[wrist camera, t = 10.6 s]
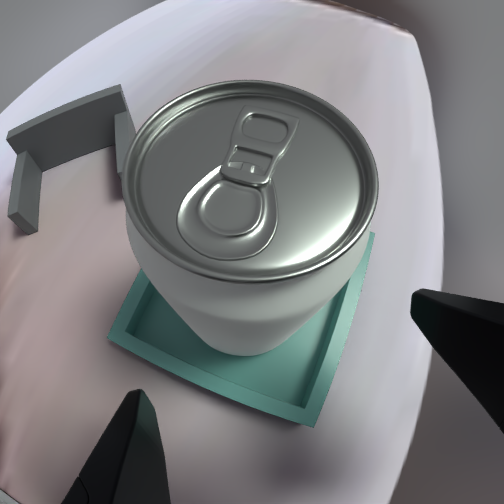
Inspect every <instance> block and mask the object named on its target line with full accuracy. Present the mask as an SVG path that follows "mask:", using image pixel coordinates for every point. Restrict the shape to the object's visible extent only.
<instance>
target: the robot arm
mask: <svg viewBox="0 0 504 504" xmlns="http://www.w3.org/2000/svg"><path fill="white" fill-rule="evenodd" d="M410 314H411V317H412V319H413V321H414V322H415V323H416V325H417V326H418V327H419V329H420V330H421V332H422V333H423V334H424V336H425V337H426V338H427V340H428V341H429V343H430V344H431V345H432V347H433V348H434V349H435V351H436V352H437V353H438V354H439V355H440V356H441V358H442V359H443V360H444V361H445V362H446V363H447V364H448V366H449V367H450V368H451V369H452V370H453V371H454V373H455V374H456V375H457V376H458V377H459V378H460V380H461V381H462V382H463V383H464V384H465V385H466V387H467V388H468V389H469V390H470V392H471V393H472V394H473V395H474V396H475V398H476V399H477V400H478V402H479V403H480V404H481V405H482V406H483V408H484V409H485V410H486V412H487V413H488V414H489V415H490V417H491V418H492V419H493V420H494V422H495V423H496V424H497V426H498V427H500V430H501V431H502V432H503V434H504V303H499V302H493V301H487V300H482V299H477V298H471V297H466V296H461V295H456V294H450V293H445V292H439V291H434V290H429V289H419V290H417V291H415V292H414V293H413V294H412V298H411V310H410ZM61 504H171V502H170V495H169V487H168V480H167V471H166V463H165V455H164V450H163V446H162V441H161V436H160V432H159V427H158V422H157V417H156V412H155V409H154V407H153V405H152V403H151V402H150V400H149V399H148V397H147V396H146V394H145V392H144V391H143V390H142V389H137V390H132V391H129V392H128V393H127V395H126V396H125V398H124V400H123V401H122V403H121V405H120V406H119V408H118V410H117V411H116V413H115V414H114V416H113V418H112V419H111V421H110V423H109V424H108V426H107V428H106V429H105V431H104V433H103V434H102V436H101V438H100V439H99V441H98V443H97V444H96V446H95V448H94V449H93V451H92V453H91V454H90V456H89V458H88V460H87V461H86V463H85V465H84V466H83V468H82V470H81V472H80V473H79V477H77V478H76V480H75V482H74V483H73V485H72V487H71V488H70V490H69V492H68V493H67V495H66V497H65V498H64V500H63V501H62V503H61Z"/></svg>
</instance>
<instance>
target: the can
mask: <svg viewBox="0 0 504 504" xmlns="http://www.w3.org/2000/svg"><path fill="white" fill-rule="evenodd" d="M378 190H379V181H378V172H377V167H376V163H375V160H374V157H373V154H372V152H371V150H370V148H369V146H368V144H367V142H366V140H365V139H364V137H363V136H362V134H361V133H360V131H359V130H358V129H357V128H356V126H355V125H354V124H353V123H352V122H351V121H350V120H349V119H348V118H347V117H346V116H345V115H344V114H343V113H341V112H340V111H339V110H338V109H336V108H335V107H334V106H332V105H331V104H329V103H328V102H326V101H324V100H323V99H321V98H319V97H317V96H315V95H313V94H311V93H309V92H306V91H304V90H301V89H299V88H296V87H292V86H289V85H285V84H281V83H276V82H270V81H261V80H233V81H225V82H219V83H214V84H210V85H206V86H203V87H199V88H197V89H194V90H191V91H189V92H187V93H184V94H182V95H180V96H178V97H176V98H175V99H173V100H171V101H170V102H168V103H167V104H165V105H164V106H162V107H161V108H160V109H158V110H157V111H156V112H155V113H154V114H153V115H152V116H151V117H150V118H149V119H148V120H147V121H146V122H145V123H144V124H143V125H142V126H141V128H140V129H139V130H138V132H137V133H136V135H135V137H134V138H133V140H132V142H131V144H130V146H129V148H128V150H127V153H126V156H125V160H124V164H123V169H122V193H123V199H124V203H125V206H126V226H127V233H128V237H129V241H130V244H131V247H132V250H133V252H134V254H135V257H136V259H137V261H138V263H139V265H140V267H141V268H142V270H143V271H144V273H145V274H146V276H147V277H148V279H149V280H150V281H151V283H152V284H153V285H154V287H155V288H156V289H157V290H158V292H159V293H160V294H161V295H162V296H163V298H164V299H165V300H166V301H167V302H168V303H169V305H170V306H171V307H172V308H173V309H174V310H175V311H176V312H177V314H178V315H179V316H180V317H181V318H182V319H183V320H184V321H185V322H186V323H187V325H188V326H189V327H190V328H191V329H192V330H193V331H194V332H195V333H196V334H197V335H198V336H199V337H200V338H201V339H202V340H203V341H204V342H205V343H206V344H208V345H209V346H210V347H212V348H214V349H216V350H218V351H220V352H223V353H226V354H231V355H237V356H254V355H259V354H262V353H265V352H268V351H270V350H272V349H274V348H276V347H277V346H279V345H280V344H282V343H283V342H284V341H285V340H287V339H288V338H289V337H290V336H291V335H293V334H294V333H295V332H296V331H297V330H298V329H299V328H301V327H302V326H303V325H304V324H305V323H306V322H307V321H308V320H310V319H311V318H312V317H313V316H314V315H315V314H316V313H317V312H318V311H319V310H320V309H321V308H322V307H324V306H325V305H326V304H327V303H328V302H329V301H330V300H331V299H332V298H333V297H334V296H335V295H336V294H337V293H338V291H339V290H340V289H341V288H342V287H343V286H344V285H345V283H346V282H347V281H348V280H349V278H350V277H351V276H352V274H353V273H354V271H355V269H356V268H357V266H358V264H359V262H360V261H361V259H362V256H363V254H364V252H365V249H366V246H367V243H368V239H369V233H370V226H371V219H372V217H373V214H374V211H375V208H376V204H377V199H378Z"/></svg>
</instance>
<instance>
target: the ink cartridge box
mask: <svg viewBox="0 0 504 504" xmlns="http://www.w3.org/2000/svg"><path fill="white" fill-rule="evenodd" d="M0 504H19V503H18V502H16V501H15V500H14V499H12V498H11V497H9V496H8V495H7V494H5V493H4V492H3V491H1V490H0Z"/></svg>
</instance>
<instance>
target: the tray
mask: <svg viewBox="0 0 504 504" xmlns="http://www.w3.org/2000/svg"><path fill="white" fill-rule="evenodd" d="M374 236H375V233H373V232H370V233H369V239H368V243H367V246H366V249H365V252H364V254H363V256H362V259H361V261H360V262H359V264H358V266H357V268H356V269H355V271H354V273H353V274H352V276H351V277H350V278H349V280H348V281H347V282H346V283H345V285H344V286H343V287H342V288H341V289H340V290H339V291H338V293H337V294H336V295H335V296H334V297H333V298H332V299H331V300H330V301H329V302H328V303H327V304H326V305H325V306H324V307H322V308H321V309H320V310H319V311H318V312H317V313H316V314H315V315H314V316H313V317H312V318H311V319H310V320H308V321H307V322H306V323H305V324H304V325H303V326H302V327H301V328H299V329H298V330H297V331H296V332H295V333H294V334H293V335H291V336H290V337H289V338H288V339H287V340H285V341H284V342H283V343H282V344H280V345H279V346H277V347H276V348H274V349H272V350H270V351H268V352H265V353H262V354H259V355H254V356H237V355H231V354H226V353H223V352H220V351H218V350H216V349H214V348H212V347H210V346H209V345H208V344H206V343H205V342H204V341H203V340H202V339H201V338H200V337H199V336H198V335H197V334H196V333H195V332H194V331H193V330H192V329H191V328H190V327H189V326H188V325H187V323H186V322H185V321H184V320H183V319H182V318H181V317H180V316H179V315H178V314H177V312H176V311H175V310H174V309H173V308H172V307H171V306H170V305H169V303H168V302H167V301H166V300H165V299H164V298H163V296H162V295H161V294H160V293H159V292H158V290H157V289H156V288H155V287H154V285H153V284H152V283H151V281H150V280H149V279H148V277H147V276H146V274H145V273H144V271H143V270H142V268H141V270H140V272H139V274H138V275H137V277H136V279H135V281H134V283H133V285H132V287H131V289H130V291H129V293H128V295H127V297H126V299H125V301H124V303H123V305H122V307H121V309H120V311H119V313H118V315H117V317H116V319H115V321H114V324H113V326H112V328H111V330H110V332H109V334H108V336H107V338H108V339H109V340H111V341H113V342H115V343H116V344H118V345H120V346H122V347H123V348H125V349H127V350H129V351H131V352H133V353H134V354H136V355H138V356H140V357H142V358H144V359H146V360H148V361H149V362H151V363H153V364H155V365H157V366H159V367H161V368H163V369H165V370H167V371H169V372H171V373H173V374H176V375H178V376H180V377H182V378H184V379H186V380H188V381H190V382H193V383H195V384H197V385H199V386H202V387H204V388H206V389H208V390H211V391H213V392H215V393H218V394H220V395H223V396H225V397H227V398H230V399H232V400H235V401H237V402H240V403H243V404H245V405H248V406H250V407H253V408H256V409H258V410H261V411H264V412H267V413H270V414H272V415H275V416H278V417H281V418H284V419H287V420H290V421H293V422H296V423H300V424H303V425H306V426H309V427H313V428H314V426H315V423H316V421H317V419H318V416H319V414H320V411H321V409H322V406H323V404H324V401H325V398H326V396H327V393H328V391H329V388H330V385H331V383H332V380H333V377H334V374H335V371H336V369H337V366H338V363H339V360H340V357H341V354H342V351H343V348H344V345H345V342H346V339H347V336H348V333H349V329H350V326H351V323H352V320H353V316H354V313H355V310H356V306H357V303H358V299H359V296H360V292H361V288H362V285H363V281H364V277H365V273H366V269H367V265H368V261H369V257H370V253H371V249H372V244H373V240H374Z"/></svg>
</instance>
